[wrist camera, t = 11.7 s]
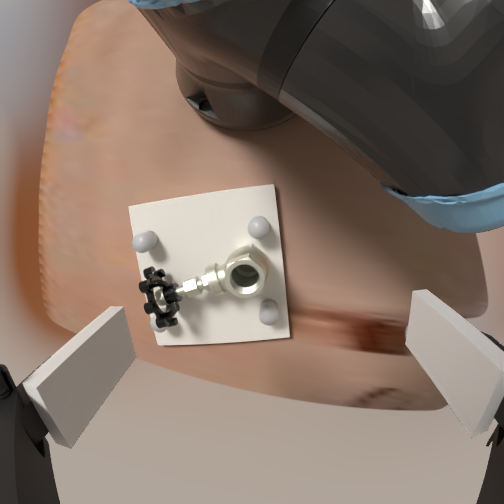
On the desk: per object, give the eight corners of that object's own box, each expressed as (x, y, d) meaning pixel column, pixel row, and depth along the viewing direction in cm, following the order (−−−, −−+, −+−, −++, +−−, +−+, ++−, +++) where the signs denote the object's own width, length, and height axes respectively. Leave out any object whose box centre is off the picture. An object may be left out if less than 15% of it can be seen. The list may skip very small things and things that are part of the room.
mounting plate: (132, 205, 31) (118, 208, 28) (273, 184, 30) (274, 183, 27) (160, 341, 35) (151, 355, 31) (289, 333, 33) (291, 348, 30)
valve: (257, 224, 30) (155, 261, 31) (254, 233, 24) (129, 278, 25) (278, 282, 31) (178, 314, 33) (281, 306, 25) (159, 341, 26)
